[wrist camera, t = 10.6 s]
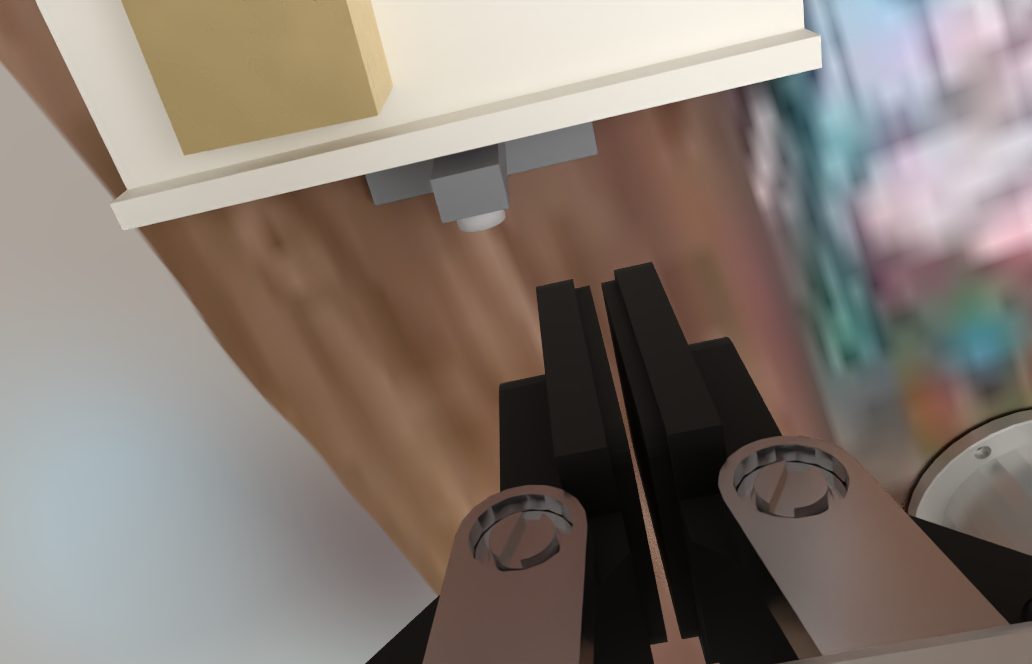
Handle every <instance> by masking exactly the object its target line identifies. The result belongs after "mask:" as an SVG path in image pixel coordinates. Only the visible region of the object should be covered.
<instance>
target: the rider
mask: <svg viewBox="0 0 1032 664" xmlns="http://www.w3.org/2000/svg"><path fill="white" fill-rule="evenodd" d="M121 2H122V4H123V7H124V9H125V11H126V14H127V16H128V19H129V21H130V24H131V26H132V29H133V31H134V34H135V36H136V39H137V41H138V43H139V46H140V48H141V51H142V53H143V56H144V58H145V61H146V63H147V66H148V68H149V71H150V73H151V75H152V78H153V80H154V83H155V85H156V88H157V90H158V93H159V95H160V98H161V100H162V102H163V105H164V107H165V110H166V112H167V115H168V117H169V120H170V122H171V125H172V127H173V130H174V132H175V134H176V137H177V139H178V142H179V144H180V147H181V149H182V152H183V154H184V156H185V155H190V154H195V153H199V152H204V151H209V150H214V149H219V148H224V147H229V146H233V145H238V144H243V143H248V142H253V141H258V140H263V139H267V138H272V137H277V136H282V135H287V134H292V133H296V132H301V131H306V130H311V129H316V128H321V127H326V126H330V125H335V124H340V123H345V122H350V121H355V120H360V119H364V118H369V117H374V116H378V115H379V113H380V111H381V109H382V107H383V106H384V104H385V102H386V100H387V98H388V96H389V94H390V92H391V90H392V88H393V83H392V80H391V76H390V72H389V68H388V65H387V61H386V57H385V53H384V49H383V46H382V42H381V38H380V34H379V31H378V27H377V23H376V19H375V15H374V12H373V8H372V4H371V0H121Z"/></svg>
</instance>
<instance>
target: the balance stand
mask: <svg viewBox="0 0 1032 664" xmlns="http://www.w3.org/2000/svg"><path fill="white" fill-rule="evenodd" d="M596 154H598V152H597V147H596V141H595V136H594V130H593V125H592V121H591V122H587V123H582V124H578V125H574V126H569V127H565V128H561V129H557V130H552V131H548V132H544V133H539V134H535V135H531V136H527V137H522V138H518V139H514V140H510V141H505V142H501V143H497V144H492V145H488V146H484V147H480V148H475V149H471V150H467V151H462V152H458V153H454V154H450V155H445V156H441V157H437V158H433V159H428V160H424V161H420V162H415V163H411V164H407V165H403V166H398V167H394V168H390V169H385V170H381V171H377V172H373V173H368V174H365V177H366V180H367V183H368V186H369V189H370V192H371V195H372V198H373V201H374V204H375V206H376V205H381V204H385V203H389V202H393V201H398V200H402V199H406V198H411V197H415V196H419V195H424V194H428V193H432V192H433V193H434V196H435V200H436V203H437V207H438V210H439V213H440V217H441V220H442V224H443V223H447V222H451V221H456V222H457V225H458V228H459V230H461V231H464V232H476V231H482V230H486V229H489V228H491V227H494V226H496V225H498V224H500V223H501V222H502V221H503V220H504V219H505V217H506V215H505V211H504V209H508V208H510V206H509V191H508V176H507V175H510V174H514V173H519V172H523V171H527V170H532V169H536V168H540V167H544V166H549V165H553V164H557V163H562V162H566V161H570V160H575V159H579V158H583V157H588V156H592V155H596Z"/></svg>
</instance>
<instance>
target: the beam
mask: <svg viewBox="0 0 1032 664" xmlns="http://www.w3.org/2000/svg"><path fill="white" fill-rule="evenodd" d="M35 1H36V3H37V5H38V7H39V9H40V11H41V13H42V15H43V17H44V20H45V22H46V24H47V26H48V28H49V30H50V32H51V34H52V36H53V38H54V40H55V42H56V44H57V46H58V48H59V50H60V52H61V54H62V57H63V59H64V61H65V63H66V65H67V67H68V69H69V71H70V73H71V75H72V77H73V79H74V81H75V83H76V85H77V87H78V89H79V92H80V94H81V96H82V98H83V100H84V102H85V104H86V106H87V108H88V110H89V112H90V114H91V116H92V118H93V120H94V122H95V124H96V126H97V129H98V131H99V133H100V135H101V137H102V139H103V141H104V143H105V145H106V147H107V149H108V151H109V153H110V155H111V157H112V159H113V161H114V164H115V166H116V168H117V170H118V172H119V174H120V176H121V178H122V180H123V182H124V184H125V186H126V188H127V190H126V191H125V192H124V193H122V194H121V195H120V196H119V197H118V198H116V199H115V200H114V201H113V202H111V203H110V206H111V208H112V210H113V212H114V214H115V216H116V218H117V220H118V222H119V224H120V226H121V228H122V230H123V231H124V230H129V229H133V228H137V227H142V226H146V225H150V224H154V223H159V222H163V221H167V220H172V219H176V218H180V217H184V216H189V215H193V214H197V213H202V212H206V211H210V210H214V209H219V208H223V207H227V206H231V205H236V204H240V203H244V202H249V201H253V200H257V199H261V198H266V197H270V196H274V195H279V194H283V193H287V192H291V191H296V190H300V189H304V188H308V187H313V186H317V185H321V184H326V183H330V182H334V181H338V180H343V179H347V178H351V177H356V176H360V175H364V174H368V173H373V172H377V171H381V170H385V169H390V168H394V167H398V166H403V165H407V164H411V163H415V162H420V161H424V160H428V159H433V158H437V157H441V156H445V155H450V154H454V153H458V152H462V151H467V150H471V149H475V148H480V147H484V146H488V145H492V144H497V143H501V142H505V141H510V140H514V139H518V138H522V137H527V136H531V135H535V134H539V133H544V132H548V131H552V130H557V129H561V128H565V127H569V126H574V125H578V124H582V123H587V122H591V121H595V120H599V119H604V118H608V117H612V116H616V115H621V114H625V113H629V112H634V111H638V110H642V109H646V108H651V107H655V106H659V105H664V104H668V103H672V102H676V101H681V100H685V99H689V98H693V97H698V96H702V95H706V94H711V93H715V92H719V91H723V90H728V89H732V88H736V87H741V86H745V85H749V84H753V83H758V82H762V81H766V80H770V79H775V78H779V77H783V76H788V75H792V74H796V73H800V72H805V71H809V70H813V69H818V68H822V59H821V35H819V34H816V33H814V32H812V31H809V30H807V29H805V28H804V12H803V0H371V4H372V8H373V12H374V15H375V19H376V23H377V27H378V31H379V34H380V38H381V42H382V46H383V49H384V53H385V57H386V61H387V65H388V68H389V72H390V76H391V80H392V83H393V88H392V90H391V92H390V94H389V96H388V98H387V100H386V102H385V104H384V106H383V107H382V109H381V111H380V113H379V115H378V116H374V117H369V118H364V119H360V120H355V121H350V122H345V123H340V124H335V125H330V126H326V127H321V128H316V129H311V130H306V131H301V132H296V133H292V134H287V135H282V136H277V137H272V138H267V139H263V140H258V141H253V142H248V143H243V144H238V145H233V146H229V147H224V148H219V149H214V150H209V151H204V152H199V153H195V154H190V155H185V156H184V154H183V152H182V149H181V147H180V144H179V142H178V139H177V137H176V134H175V132H174V130H173V127H172V125H171V122H170V120H169V117H168V115H167V112H166V110H165V107H164V105H163V102H162V100H161V98H160V95H159V93H158V90H157V88H156V85H155V83H154V80H153V78H152V75H151V73H150V71H149V68H148V66H147V63H146V61H145V58H144V56H143V53H142V51H141V48H140V46H139V43H138V41H137V39H136V36H135V34H134V31H133V29H132V26H131V24H130V21H129V19H128V16H127V14H126V11H125V9H124V7H123V4H122V2H121V0H35Z"/></svg>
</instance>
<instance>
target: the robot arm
mask: <svg viewBox="0 0 1032 664" xmlns="http://www.w3.org/2000/svg"><path fill="white" fill-rule="evenodd" d="M614 276H615V280H614V281H609V282H604V283H601V284H602V291H603V296H604V301H605V306H606V311H607V316H608V322H609V327H610V332H611V337H612V342H613V347H614V352H615V357H616V363H617V368H618V373H619V378H620V383H621V388H622V393H623V398H624V404H625V409H626V414H627V419H628V424H629V429H630V434H631V439H632V444H633V448H634V453H635V457H636V461H637V465H638V469H639V473H640V477H641V481H642V485H643V489H644V492H645V496H646V500H647V504H648V508H649V512H650V516H651V520H652V524H653V528H654V532H655V536H656V540H657V544H658V548H659V552H660V555H661V559H662V563H663V567H664V571H665V575H666V579H667V583H668V587H669V591H670V595H671V599H672V603H673V607H674V611H675V615H676V618H677V622H678V626H679V630H680V634H681V637H682V639H686V638H692V637H697V636H699V640H700V643H701V647H702V650H703V654H704V658H705V661H706V664H713V663H720V664H1032V410H1027V411H1022V412H1017V413H1014V414H1011V415H1008V416H1005V417H1002V418H999V419H996V420H993V421H991V422H989V423H987V424H985V425H983V426H981V427H979V428H977V429H975V430H973V431H971V432H970V433H968V434H967V435H965V436H964V437H962V438H961V439H959V440H958V441H956V442H955V443H953V444H952V445H951V446H950V447H949V448H948V449H947V450H945V451H944V452H943V453H942V454H941V455H940V456H939V457H938V458H937V459H936V460H935V461H934V462H933V463H932V465H931V466H930V467H929V468H928V469H927V471H926V472H925V473H924V474H923V476H922V477H921V479H920V481H919V483H918V485H917V486H916V488H915V490H914V492H913V495H912V498H911V501H910V504H909V507H908V514H907V513H906V512H905V511H904V510H903V509H902V508H901V507H900V506H899V505H898V504H897V503H896V502H895V501H894V500H893V498H892V497H891V496H890V495H889V494H888V493H887V492H886V491H885V490H884V489H883V488H882V487H881V486H880V485H879V483H878V482H877V481H876V480H875V479H874V478H873V477H872V476H871V475H870V474H869V473H868V472H867V471H866V470H865V469H864V467H863V466H862V465H861V464H860V463H859V462H858V461H857V460H856V459H855V458H854V457H852V456H851V455H850V454H848V453H847V452H846V451H845V450H843V449H842V448H840V447H838V446H836V445H833V444H831V443H828V442H826V441H824V440H820V439H815V438H810V437H804V436H782V434H781V432H780V431H779V429H778V427H777V425H776V423H775V421H774V419H773V418H772V416H771V414H770V412H769V410H768V408H767V406H766V405H765V403H764V401H763V399H762V397H761V395H760V393H759V391H758V390H757V388H756V386H755V384H754V382H753V380H752V378H751V377H750V375H749V373H748V371H747V369H746V367H745V365H744V363H743V362H742V360H741V358H740V356H739V354H738V352H737V350H736V349H735V347H734V345H733V343H732V342H731V340H730V339H729V338H728V337H723V338H719V339H714V340H709V341H704V342H699V343H694V344H690V345H688V344H687V341H686V339H685V337H684V334H683V332H682V330H681V328H680V325H679V323H678V321H677V318H676V316H675V314H674V311H673V309H672V307H671V305H670V302H669V300H668V298H667V295H666V293H665V291H664V288H663V286H662V284H661V282H660V279H659V277H658V275H657V272H656V270H655V268H654V265H653V264H652V262H649V263H645V264H640V265H636V266H631V267H626V268H622V269H617V270H614ZM536 293H537V302H538V312H539V321H540V330H541V339H542V348H543V357H544V367H545V375H540V376H535V377H530V378H525V379H520V380H516V381H511V382H506V383H501V384H500V386H499V419H500V492H499V493H497V494H495V495H492V496H490V497H488V498H487V499H486V500H484V501H483V502H481V503H480V504H478V505H477V506H475V507H474V508H473V509H472V510H471V511H470V513H469V514H468V515H467V516H466V517H465V518H464V519H463V521H462V522H461V524H460V527H459V529H458V531H457V533H456V535H455V539H454V543H453V547H452V551H451V555H450V558H449V562H448V566H447V570H446V574H445V578H444V582H443V586H442V590H441V593H440V595H439V596H438V597H437V598H436V599H435V600H434V601H433V602H432V603H430V604H429V605H428V606H427V607H426V608H425V609H424V610H423V611H422V612H421V613H420V614H419V615H417V616H416V617H415V618H414V619H413V620H412V621H411V622H410V623H409V624H408V625H407V626H406V627H404V628H403V629H402V630H401V631H400V632H399V633H398V634H397V635H396V636H395V637H394V638H393V639H391V640H390V641H389V642H388V643H387V644H386V645H385V646H384V647H383V648H382V649H381V650H380V651H378V652H377V653H376V654H375V655H374V656H373V657H372V658H371V659H370V660H369V661H368V662H367V663H365V664H654V662H653V657H652V652H651V647H650V645H652V644H658V643H663V642H668V641H667V635H666V630H665V625H664V620H663V615H662V610H661V605H660V600H659V595H658V590H657V584H656V579H655V574H654V569H653V564H652V559H651V554H650V549H649V544H648V539H647V534H646V529H645V524H644V519H643V514H642V509H641V503H640V498H639V493H638V488H637V483H636V478H635V473H634V468H633V463H632V458H631V454H630V449H629V444H628V440H627V436H626V431H625V427H624V423H623V419H622V415H621V411H620V407H619V403H618V399H617V395H616V391H615V387H614V383H613V379H612V375H611V371H610V367H609V362H608V358H607V354H606V350H605V346H604V342H603V338H602V334H601V330H600V326H599V322H598V318H597V314H596V310H595V306H594V302H593V298H592V294H591V290H590V286H586V287H581V288H576V289H575V288H574V283H573V279H571V280H566V281H562V282H557V283H552V284H548V285H543V286H539V287H536Z"/></svg>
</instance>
